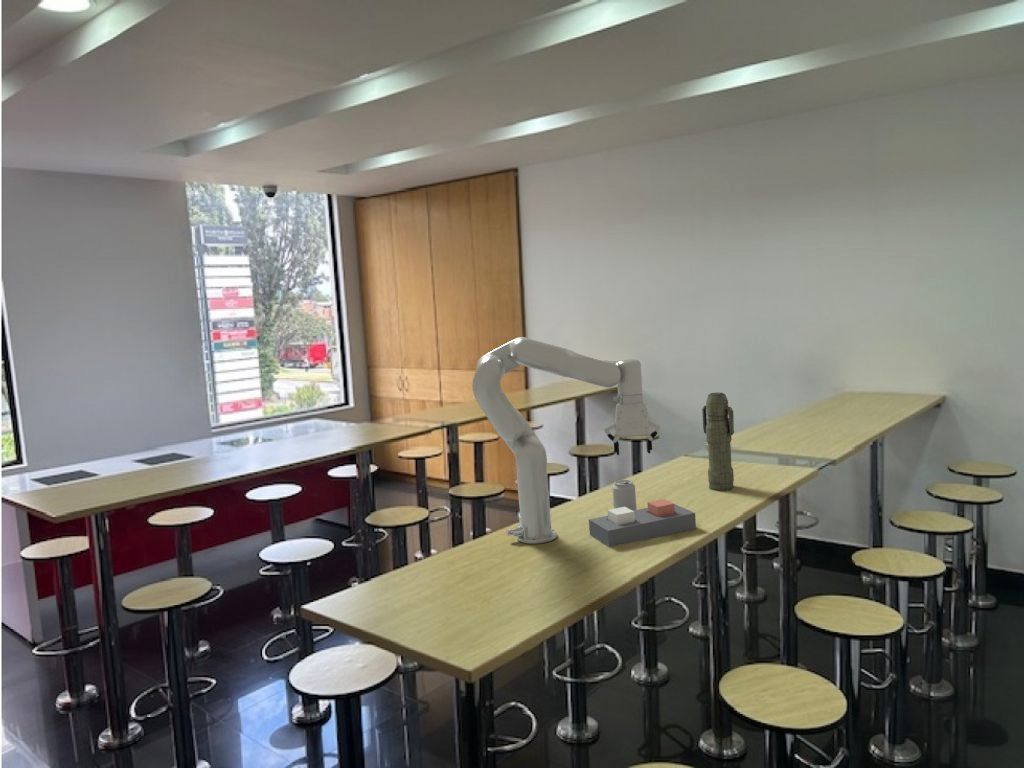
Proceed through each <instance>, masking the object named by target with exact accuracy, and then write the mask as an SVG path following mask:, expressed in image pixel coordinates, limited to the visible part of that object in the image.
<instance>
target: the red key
mask: <svg viewBox="0 0 1024 768" xmlns="http://www.w3.org/2000/svg"><path fill="white" fill-rule="evenodd" d="M674 504H675V503H674V502H671V501H670V500H667V499H664V498H663V499H658V500H653V501H648V502H647V508H648V513H650V514H652V515H654V516H656V517H660V516H665V515H670V514H675V506H674Z"/></svg>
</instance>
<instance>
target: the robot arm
mask: <svg viewBox="0 0 1024 768" xmlns="http://www.w3.org/2000/svg"><path fill="white" fill-rule="evenodd" d="M521 366H523V367H526V368H530V369H534V370H538V371H541V372H545V373H549V374H551V375H552V374H553V375H556V376H560V377H563V378H568V379H573V380H577V381H581V382H585V383H588V384H590V385H591V384H592V385H597V386H600V387H603V388H612V387H614V386H616V385H617V395H616V396H613V402H617V404H616V407H615V415H614V422H612V423H611V424H609V425H608V426H606V427H604V428H603V430H604V433H605V434H606V435H607V437H608V439H610V440H611V441H612V442H613V452H614V453H615V454H616V456H620V444H619V440H620V438H627V437H643V436H645V438H646V442H645V443H646V452H647V454H651V451H653V440H654V438H655V437H656V436H657V435H658V433H659V430H660V428H661V425H660V424H657V423H656V422H652V421H650V420H649V415H648V408H647V404H646V403H645V402H644V401H643V400H644V399H643V397H644V396H643V381H642V380H643V379H642V378H643V377H642V376H643V375H642V364H641V361H639V359H622V360H601V359H597V358H593V357H590V356H587V355H584V354H580V353H577V352H576V351H573V350H571V349H568V348H566V347H562V346H557V345H554V344H550V343H546V342H542V341H539V340H535V339H532V338H528V337H525V336H520V337H516V338H514V339H512V340H510V341H508V342H507V343H504V344H503V345H501V346H499V347H496V348H495V349H493V350H492V351H490V352H487V353H486V354H484V355H482V356H481V357H480V358H479V359H478V361H477V363H476V370H475V373H474V375H473V379H472V393H473V397H474V399H475V401H476V403H477V404H478V406H479V407H480V409H481V411H482V412H483V413H484V416H485V417H486V418H487V420H489V422H490V424H491V425H492V426H493V429H494V430H495V432H496V433H497V435H498V436H499V437H500V438H501V439H502V440H503V441H504V443H505V444H506V446H507V447H508V448H509V449H510V451H511V452H512V454H513V456H514V459H515V468H516V470H515V471H516V482H517V483H516V485H517V495H518V505H519V507H518V508H519V517H520V523H517V526H515V528H509V529H506V532H505V533H506V536H507V537H509V536H513V537H516V539H517V541H519V542H521V543H524V544H530V545H531V544H533V545H535V544H536V545H537V544H544V543H549V542H551V541H554V540H555V539H556V538H557V537H558V533H557V531H556V530H555V529H553V528H552V521H551V519H552V518H551V517H552V516H551V505H550V494H549V482H548V481H549V480H548V457H547V456H548V455H547V451H546V448H545V446H544V444H543V443H542V441H541V440H540V439H539V437H538V435H536V433H535V431H534V430H533V428H532V427H531V426H530V424H529V423H528V421H527V420H526V419H525V417H524V416H523V415H522V413H521V412H520V411H519V410H518V409H517V408H515V407H514V405H513V404H512V402H511V401H510V400H509V398H508V397H507V395H506V394H505V392H504V391H503V389H502V387H501V381H502V379H503V377H504V376H505V374H507V373H509V372H511V371H513V370H515V369H517V368H518V367H521ZM650 427H652V428H653V431H652V432H651V433H650ZM613 429H615V435H613V434H612V433H611V432H610V431H611V430H613Z"/></svg>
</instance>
